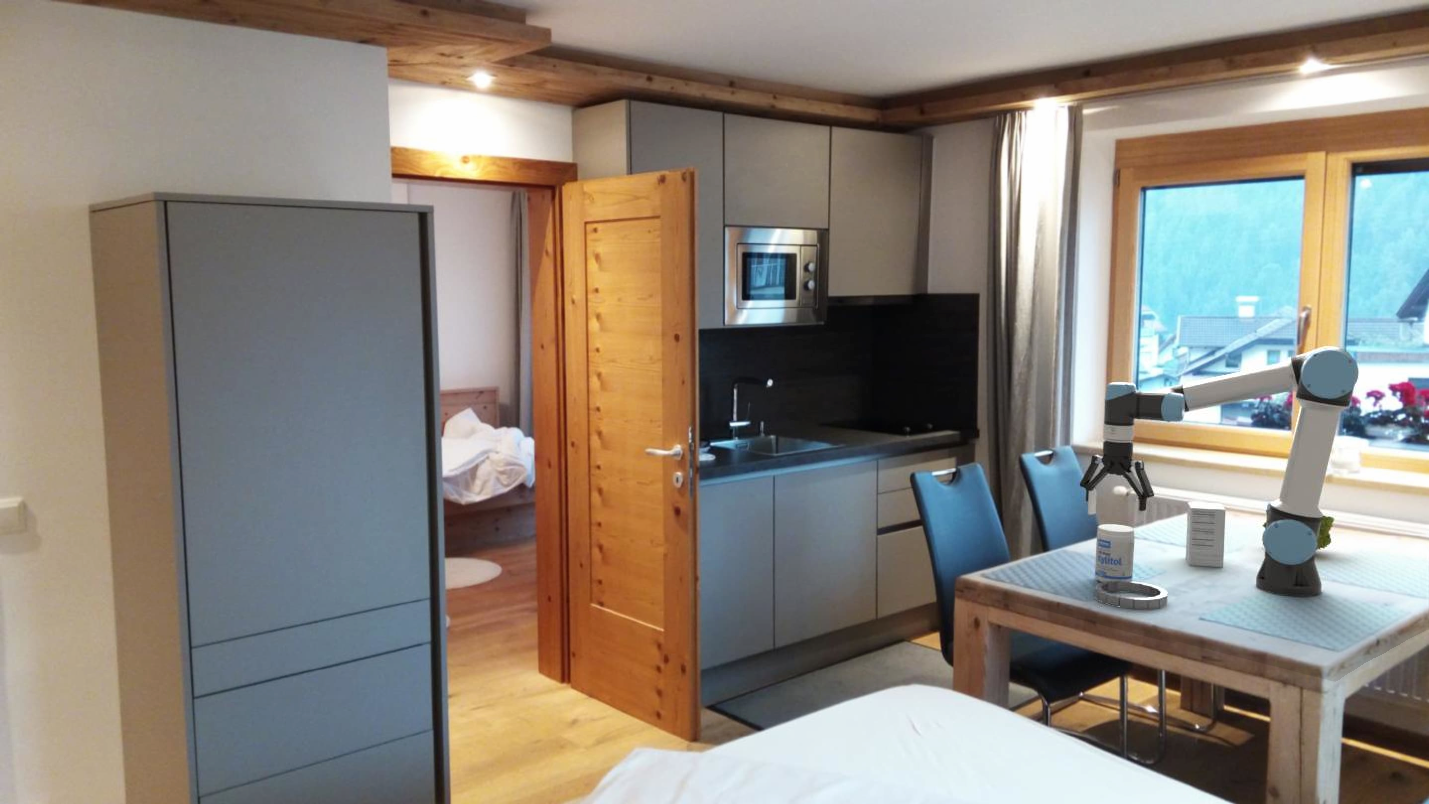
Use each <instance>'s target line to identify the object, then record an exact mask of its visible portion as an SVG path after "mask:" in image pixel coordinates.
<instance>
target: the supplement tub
mask: <svg viewBox="0 0 1429 804" xmlns="http://www.w3.org/2000/svg"><path fill="white" fill-rule="evenodd" d="M1135 535H1136V534H1135V528H1134V527H1131V526H1128V525H1124V524H1123V525H1122V524H1116V523H1115V524H1113V523H1111V524H1110V523H1109V524H1108V523H1107V524H1100V525H1098V526H1097V532H1096V542H1095V543H1096V544H1095V545H1096V546H1095V547H1096V548H1095V563H1094V567H1095V568H1094V576H1095V579H1096V580H1097V581H1098V582H1100V583H1102V582H1107V581H1133V574H1134V557H1135V555H1134V554H1135Z"/></svg>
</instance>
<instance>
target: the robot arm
mask: <svg viewBox="0 0 1429 804" xmlns="http://www.w3.org/2000/svg"><path fill="white" fill-rule="evenodd" d="M1358 379H1359V366H1358V364H1357V362H1356V360H1355V358H1354V357H1353V356H1352V355H1351V353H1349V351H1347V350H1345V349H1344V348H1341V347H1338V346H1334V345H1333V346H1332V345H1326V346H1321V347H1318V348H1315V349H1313V350H1311V351H1308V352H1305V353H1302V354H1298V355H1294V356H1289V357H1288V358H1287V360H1286V361H1285V362H1279V363H1276V364H1271V365H1266V366H1262V367H1256V368H1252V369H1248V370H1243V371H1240V372H1239V371H1238V372H1234V373H1230V374H1224V375H1220V376H1219V375H1218V376H1215V377H1211V378H1207V379H1205V378H1204V379H1200V380H1196V381H1191V382H1187V383H1183V384H1177V385H1173V386H1165V387H1161V388H1159V389H1158V390H1156V391H1140V390H1137V386H1136V384H1135V383H1132V382H1117V381H1116V382H1110V383H1107V385H1106V389H1105V398H1104V421H1103V422H1104V424H1103V438H1104V440H1103V441H1102V442H1103V444H1102V454H1103V455H1102V456H1101V455H1100V454H1094V455H1092V456H1091V461H1090V464H1089V466H1088V467H1087V469H1086V471H1085V473H1084V475H1083V477H1082V479H1080V482H1079V487H1080V488H1084V489H1085V501H1086V502H1087V503H1088V504H1087V505H1088V506H1087V515H1094V514H1096V512H1097V509H1096V508H1097V495H1098V494H1097V493H1098V492H1097V489H1096V487H1097V486H1098V485H1099V484H1100V483H1101V481H1103V480H1104V478H1105V477H1106V476H1107V475H1108V474H1109V475H1115V476H1120V477H1121V476H1122V477H1123V478H1125V480H1126V481H1127V482H1128V484H1129V485H1130V487H1131V488H1132V490H1133V491H1134V492H1135V494H1136V495H1137V497H1138V498H1135V505H1134V506H1135V508H1134V524H1141V523H1143V520H1144V512H1145V511H1146V510H1147V501H1148V498H1152V497H1154V496H1155V492H1154V490H1153V488H1152V485H1151V483H1150V480H1149V477H1148V475H1147V473H1146V470H1145V461H1144V460H1138V461H1137V460H1135V461H1134V460H1133V455H1134V442H1133V440H1134V437H1135V420H1144V421H1145V420H1146V421H1157V422H1158V421H1159V422H1166V423H1170V422H1173V423H1174V422H1176V423H1177V422H1178V423H1179V422H1181V421H1183V420H1184V417H1185V413H1188V412H1192V411H1197V410H1202V409H1208V408H1213V407H1219V406H1223V405H1228V404H1234V403H1238V402H1242V401H1243V402H1244V401H1248V400H1253V399H1257V398H1262V397H1263V398H1264V397H1268V396H1273V395H1277V394H1283V393H1288V392H1295V393H1296V394H1295V399H1296V401H1297V402H1298V403H1299V405H1300V407H1299V411H1298V412H1299V413H1298V415H1297V421H1296V424H1295V429H1294V433H1293V438H1292V441H1291V446H1290V450H1289V455H1288V460H1287V463H1286V468H1285V472H1284V477H1283V481H1282V485H1281V489H1280V494H1279V497H1278V498H1277V499H1276V500H1273V501H1269V502H1268V503H1267V505H1266V509H1265V514H1266V521H1265V522H1266V527H1264V531H1263V533H1262V538H1261V540H1262V546H1263V547H1264V558H1263V560H1262V563H1261V564H1260V568H1259V570H1258V572H1257V575H1256V577H1255V586H1256V587H1257V588H1258V589H1260V590H1263V591H1265V592H1268V593H1272V594H1277V595H1281V596H1283V595H1284V596H1290V597H1291V596H1292V597H1313V596H1314V597H1315V596H1318V595H1320V594H1322V586H1323V585H1322V581H1321V577H1320V574H1319V571H1318V567H1317V565H1316V552H1317V550H1316V549H1317V545H1318V544H1317V539H1318V534H1319V530H1320V526H1321V522H1322V518H1323V515H1324V514H1323V512H1322V511H1321V510H1320V509H1319V504H1320V500H1321V494H1322V491H1323V487H1324V482H1325V478H1326V473H1327V471H1328V467H1329V462H1330V458H1331V453H1332V450H1333V445H1334V440H1335V436H1336V431H1337V428H1338V424H1339V418H1340V416H1341V413H1342V412H1344V411H1345V410H1347V409H1349V408H1350V405H1351V401H1352V396H1353V392H1354V388H1355V385H1356V384H1357V382H1358ZM1101 463H1102V465H1103V467H1102V468H1101V469H1100V470H1099V472H1098V473H1097V474H1096V475H1095V473H1096V471H1097V469H1098V468H1099V466H1100V464H1101ZM1132 467H1133V469H1134V470H1135V473H1136V476H1135V473H1134V471H1133V469H1131V468H1132ZM1094 475H1095V476H1094ZM1093 477H1094V478H1093ZM1136 477H1137V478H1138V479H1137V478H1136Z"/></svg>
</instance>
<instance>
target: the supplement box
mask: <svg viewBox="0 0 1429 804" xmlns="http://www.w3.org/2000/svg"><path fill="white" fill-rule="evenodd" d="M1186 513H1187V515H1186V516H1187V518H1186V519H1187V520H1186V521H1187V524H1186V538H1185V539H1186V541H1185V542H1186V544H1185V560H1186V562H1187V564H1188V566H1195V565H1196V566H1197V567H1209V566H1210V567H1212V568H1222V567H1223V568H1224V561H1225V560H1224V553H1225V535H1226V531H1225V529H1226V528H1225V527H1226V508H1225V507H1224V506H1223V504H1222V503H1210V502H1207V503H1206V502H1194V501H1193V502H1192V501H1191V502H1189V501H1188V502H1187V512H1186ZM1196 566H1195V567H1196ZM1210 567H1209V568H1210Z"/></svg>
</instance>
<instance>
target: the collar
mask: <svg viewBox="0 0 1429 804" xmlns="http://www.w3.org/2000/svg"><path fill="white" fill-rule="evenodd" d="M1115 591H1129V592H1128V593H1134V592H1136V594H1141V593H1143V594H1142V595H1145V594H1146V596H1150V597H1130V596H1123V595H1118V594H1113V593H1115ZM1108 592H1109V593H1108ZM1168 594H1169V593H1168V591H1167V590H1165V589H1164V588H1162V587H1160V586H1157V585H1154V584H1149V583H1145V582H1141V581H1134V580H1132V581H1107V582H1099V583H1097V584H1096V585H1095V587H1094V598H1095V597H1096V598H1097V599H1098V600H1100V601H1102V602H1104V603H1107V604H1110V605H1109V606H1111V605H1114V606H1113V607H1115V606H1120V607H1126V608H1125V609H1128V608H1131V609H1130V610H1145V609H1148V610H1156V609H1155V608H1157V609H1160V608H1164V607H1166V606H1167V604H1168V596H1169V595H1168ZM1096 598H1095V599H1096ZM1097 599H1096V600H1097ZM1098 600H1097V601H1098ZM1100 601H1099V602H1100ZM1102 602H1101V603H1102ZM1104 603H1103V604H1104ZM1107 604H1106V605H1107ZM1120 607H1119V608H1120Z"/></svg>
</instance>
